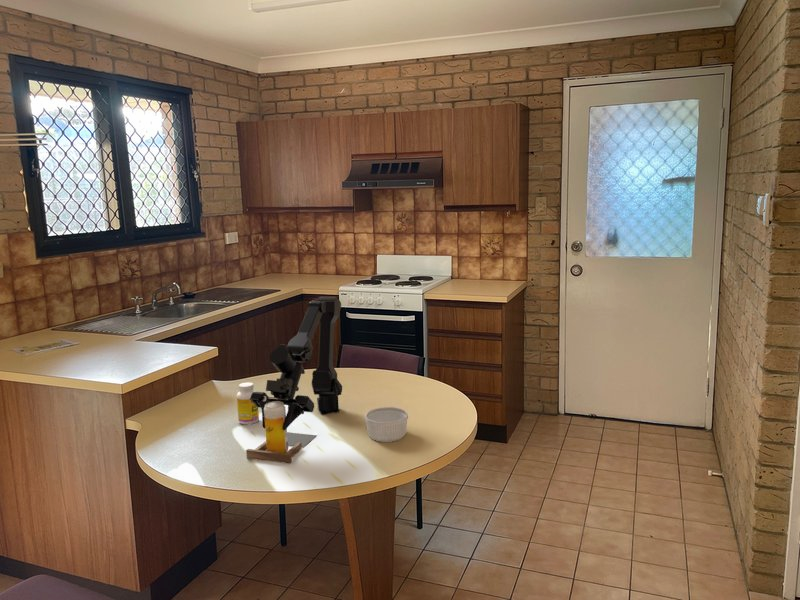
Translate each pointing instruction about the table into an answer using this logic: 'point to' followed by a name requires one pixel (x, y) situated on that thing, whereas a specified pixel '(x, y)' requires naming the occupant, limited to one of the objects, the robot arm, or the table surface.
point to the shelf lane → (273, 454)
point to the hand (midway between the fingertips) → (273, 428)
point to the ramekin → (386, 423)
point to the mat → (299, 438)
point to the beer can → (275, 427)
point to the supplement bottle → (246, 404)
